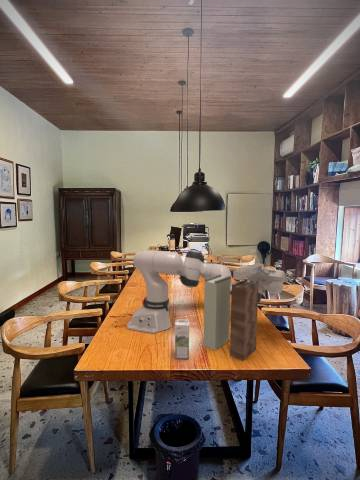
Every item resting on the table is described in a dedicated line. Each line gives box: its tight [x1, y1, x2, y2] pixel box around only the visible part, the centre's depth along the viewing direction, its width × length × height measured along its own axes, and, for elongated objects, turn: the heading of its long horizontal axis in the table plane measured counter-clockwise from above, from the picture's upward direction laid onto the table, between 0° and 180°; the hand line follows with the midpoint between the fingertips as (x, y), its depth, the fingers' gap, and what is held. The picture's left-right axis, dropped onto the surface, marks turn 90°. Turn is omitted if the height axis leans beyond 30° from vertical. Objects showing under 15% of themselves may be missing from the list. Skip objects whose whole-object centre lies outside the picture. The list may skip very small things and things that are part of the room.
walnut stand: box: [229, 278, 259, 361], centre depth 115 cm, size 12×6×30 cm, turn 140°
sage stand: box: [203, 274, 232, 351], centre depth 123 cm, size 12×6×30 cm, turn 140°
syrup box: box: [174, 319, 190, 360], centre depth 113 cm, size 6×6×14 cm
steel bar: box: [232, 262, 265, 281], centre depth 115 cm, size 22×3×3 cm, turn 140°
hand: (256, 267), depth 120 cm, fingers closed on steel bar, 3 cm apart
